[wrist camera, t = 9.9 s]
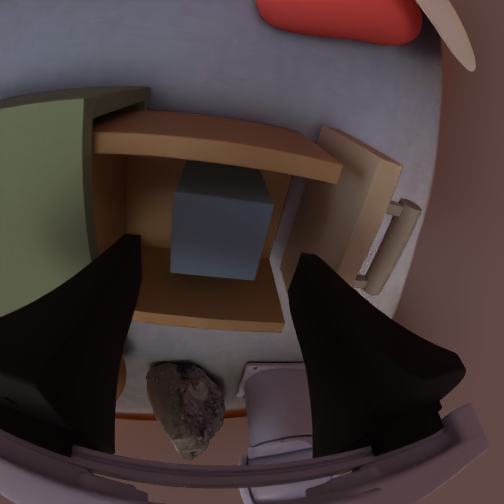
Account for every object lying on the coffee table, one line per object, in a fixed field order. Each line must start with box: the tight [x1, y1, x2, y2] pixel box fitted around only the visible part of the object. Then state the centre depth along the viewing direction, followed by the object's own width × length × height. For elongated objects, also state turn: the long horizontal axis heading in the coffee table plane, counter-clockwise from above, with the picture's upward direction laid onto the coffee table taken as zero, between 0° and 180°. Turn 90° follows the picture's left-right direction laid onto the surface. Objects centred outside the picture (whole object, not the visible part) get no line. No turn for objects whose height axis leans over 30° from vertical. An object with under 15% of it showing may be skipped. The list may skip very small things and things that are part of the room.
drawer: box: [92, 110, 422, 333], centre depth 14 cm, size 17×10×7 cm, turn 79°
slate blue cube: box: [170, 160, 274, 280], centre depth 14 cm, size 4×4×4 cm
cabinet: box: [0, 86, 150, 317], centre depth 11 cm, size 14×12×9 cm
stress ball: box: [256, 0, 422, 45], centre depth 9 cm, size 5×9×6 cm
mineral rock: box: [146, 363, 225, 461], centre depth 27 cm, size 13×11×10 cm
